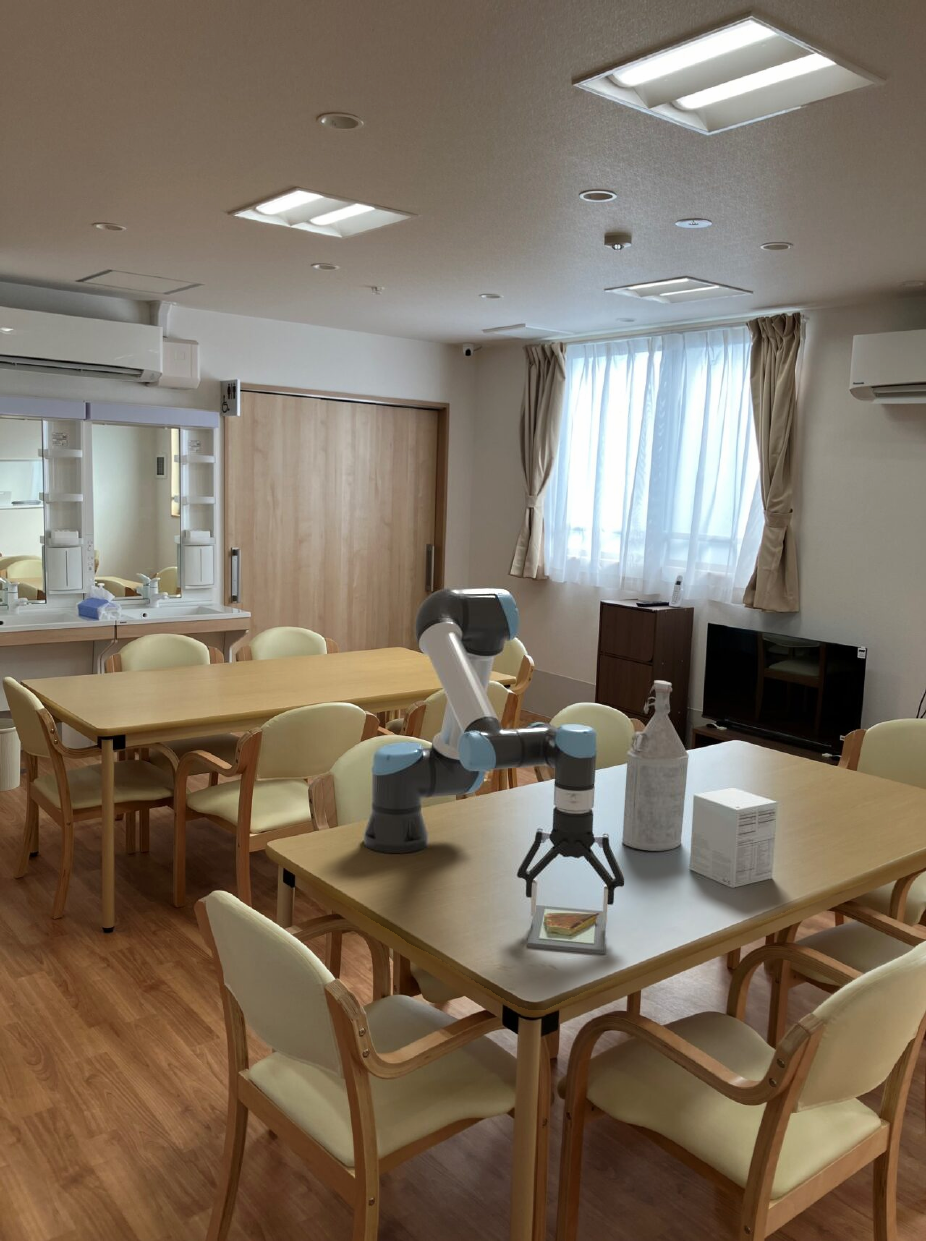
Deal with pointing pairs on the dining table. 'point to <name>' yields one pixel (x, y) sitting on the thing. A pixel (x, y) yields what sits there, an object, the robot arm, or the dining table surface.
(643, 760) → the grey stoneware bottle
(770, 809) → the supplement box
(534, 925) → the mat
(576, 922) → the shard
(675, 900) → the dining table surface
